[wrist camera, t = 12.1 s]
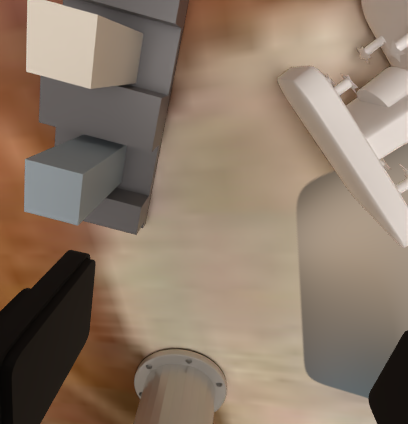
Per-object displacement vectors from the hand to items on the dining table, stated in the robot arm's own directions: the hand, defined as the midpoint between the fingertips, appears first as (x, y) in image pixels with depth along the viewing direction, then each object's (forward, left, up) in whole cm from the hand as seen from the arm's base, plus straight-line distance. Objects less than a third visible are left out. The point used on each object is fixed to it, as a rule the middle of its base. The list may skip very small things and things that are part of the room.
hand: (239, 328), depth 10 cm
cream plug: (+6, +12, -23) cm, 27 cm away
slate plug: (-4, +12, -23) cm, 26 cm away
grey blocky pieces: (+1, +12, -24) cm, 27 cm away
